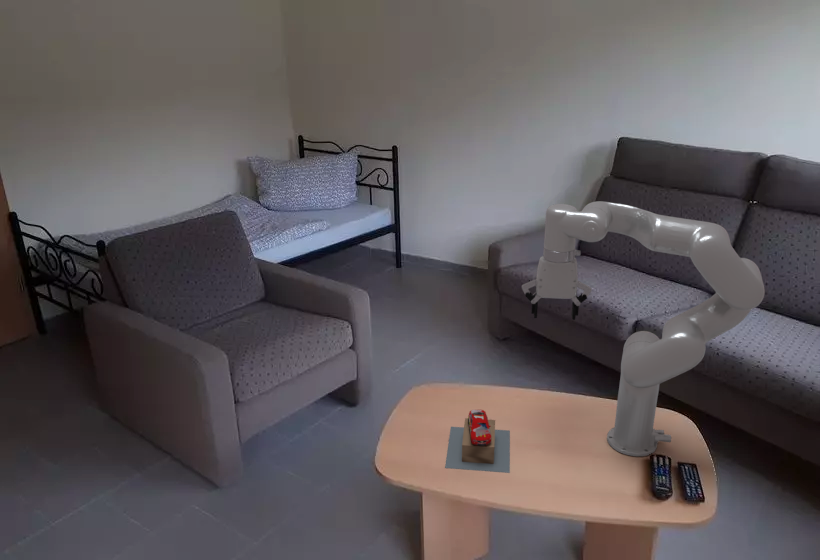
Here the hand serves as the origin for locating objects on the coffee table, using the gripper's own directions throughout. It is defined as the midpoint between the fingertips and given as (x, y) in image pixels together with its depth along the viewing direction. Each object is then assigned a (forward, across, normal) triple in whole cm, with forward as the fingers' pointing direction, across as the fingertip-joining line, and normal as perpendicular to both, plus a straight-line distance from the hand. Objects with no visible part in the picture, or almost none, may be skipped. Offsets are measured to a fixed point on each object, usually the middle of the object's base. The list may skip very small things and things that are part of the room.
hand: (554, 316), depth 173 cm
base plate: (+33, +18, +14) cm, 40 cm away
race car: (+27, +18, +14) cm, 36 cm away
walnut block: (+32, +18, +14) cm, 39 cm away
